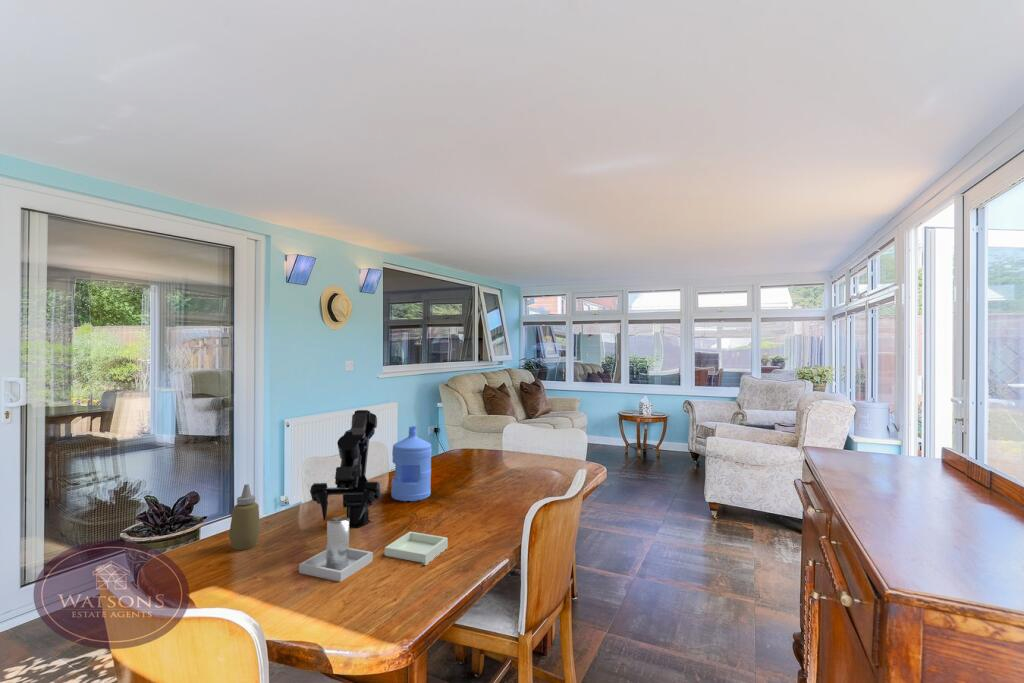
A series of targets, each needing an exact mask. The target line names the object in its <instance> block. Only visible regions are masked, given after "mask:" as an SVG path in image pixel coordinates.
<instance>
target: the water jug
mask: <svg viewBox="0 0 1024 683" xmlns="http://www.w3.org/2000/svg"><path fill="white" fill-rule="evenodd" d="M417 428H418V426H413V425H412V426H408V437H406V438H404V439H401V440H399V441H397V442H395V443H393V445H392V451H391V452H392V463H393V464H394V465H395V470H394V471H395V472H394V477H393V478H392V479H391V491H390V493H391V495H390V496H391V498H392V499H394V500H396V501H398V500H399V501H400V502H407V501H410V502H418V500H419V501H424V500H426V499H427V498H429V497H430V496H431V493H432V492H431V491H432V489H431V478H432V477H431V475H432V454H433V452H432V451H433V450H432V444H431V442H429V441H426V440H424V439H422V438H420V437H418V436H417V433H418V432H417Z"/></svg>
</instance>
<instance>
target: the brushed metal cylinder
mask: <svg viewBox="0 0 1024 683" xmlns="http://www.w3.org/2000/svg"><path fill="white" fill-rule="evenodd" d="M350 527H351V526H350V519H349V518H347V517H345V516H335V517H332V518H329V519H327V521H326V547H325V548H326V549H325V550H326V568H330V569H335V570H342V569H344V568H346V567H347V566H348V559H349V548H350Z"/></svg>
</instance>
